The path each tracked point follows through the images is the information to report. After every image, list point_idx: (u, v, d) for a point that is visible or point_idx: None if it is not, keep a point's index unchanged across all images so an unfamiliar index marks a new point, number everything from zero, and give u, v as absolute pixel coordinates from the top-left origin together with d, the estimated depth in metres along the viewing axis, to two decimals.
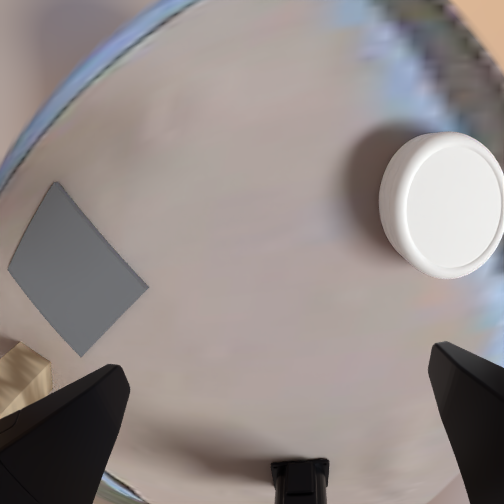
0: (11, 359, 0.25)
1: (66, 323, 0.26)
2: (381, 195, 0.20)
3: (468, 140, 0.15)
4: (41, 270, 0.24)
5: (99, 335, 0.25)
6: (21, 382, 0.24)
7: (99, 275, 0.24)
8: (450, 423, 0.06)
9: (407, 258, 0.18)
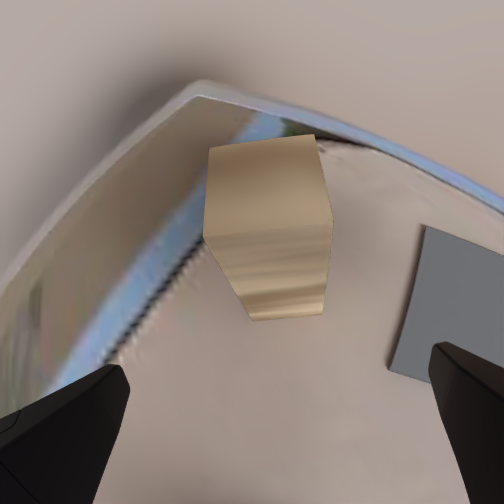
0: None
1: (429, 333, 0.19)
2: None
3: None
4: (466, 280, 0.20)
5: None
6: None
7: None
8: (450, 423, 0.06)
9: None
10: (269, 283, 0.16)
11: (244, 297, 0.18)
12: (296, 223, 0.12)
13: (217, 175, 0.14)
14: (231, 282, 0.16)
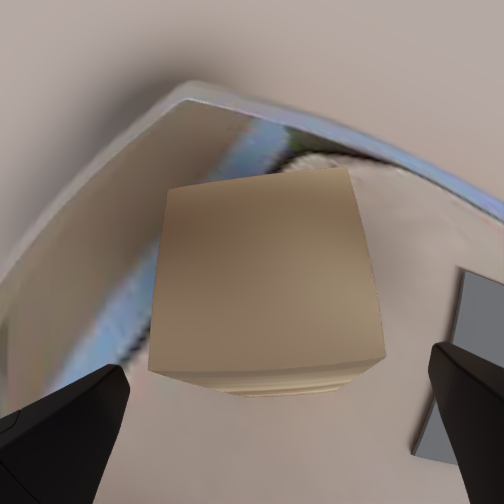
0: None
1: None
2: None
3: None
4: None
5: None
6: None
7: None
8: (450, 423, 0.06)
9: None
10: (266, 388, 0.10)
11: (233, 392, 0.12)
12: (318, 359, 0.06)
13: (176, 245, 0.08)
14: (211, 388, 0.10)
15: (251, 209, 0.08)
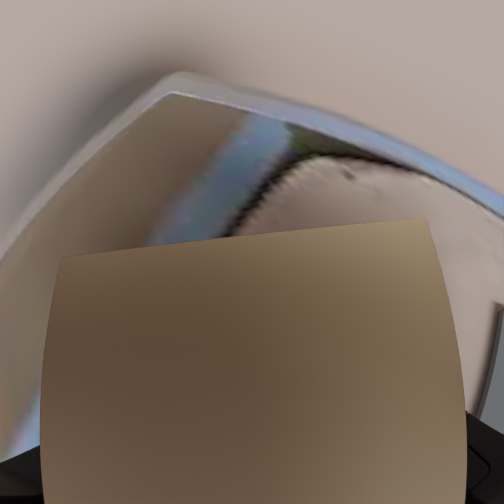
0: None
1: None
2: None
3: None
4: None
5: None
6: None
7: None
8: None
9: None
10: None
11: None
12: None
13: (64, 391, 0.03)
14: None
15: (208, 331, 0.03)
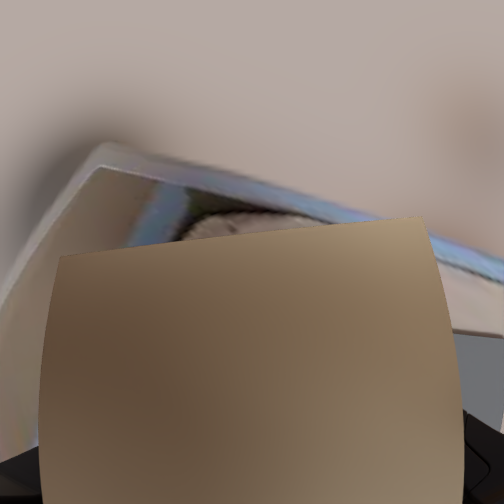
0: None
1: None
2: None
3: None
4: None
5: None
6: None
7: None
8: None
9: None
10: None
11: None
12: None
13: (62, 389, 0.03)
14: None
15: (205, 329, 0.03)
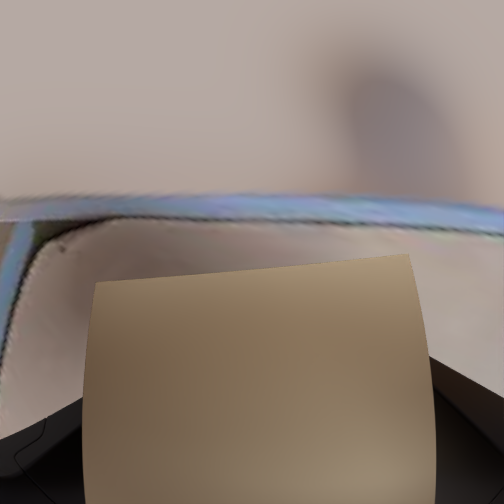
0: None
1: None
2: None
3: None
4: None
5: None
6: None
7: None
8: None
9: None
10: None
11: None
12: None
13: (106, 398, 0.04)
14: None
15: (231, 347, 0.04)
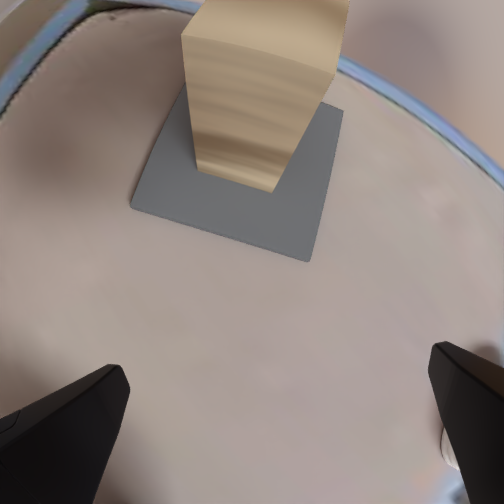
0: None
1: (177, 167, 0.20)
2: None
3: None
4: None
5: (195, 223, 0.19)
6: None
7: (287, 196, 0.20)
8: (450, 423, 0.06)
9: None
10: (231, 125, 0.13)
11: (198, 135, 0.15)
12: (293, 57, 0.08)
13: None
14: (191, 109, 0.12)
15: None
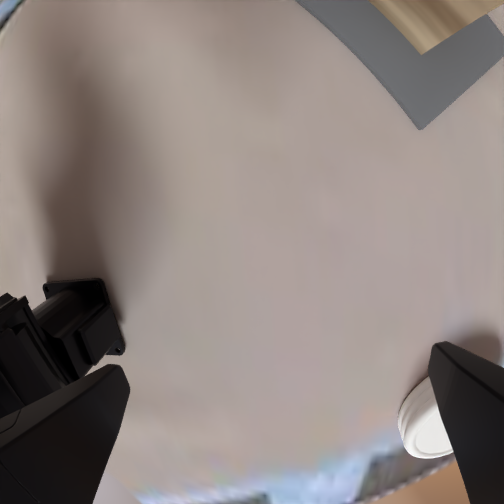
0: None
1: None
2: None
3: None
4: None
5: (340, 32, 0.14)
6: None
7: (432, 67, 0.14)
8: (450, 423, 0.06)
9: None
10: None
11: None
12: None
13: None
14: None
15: None
